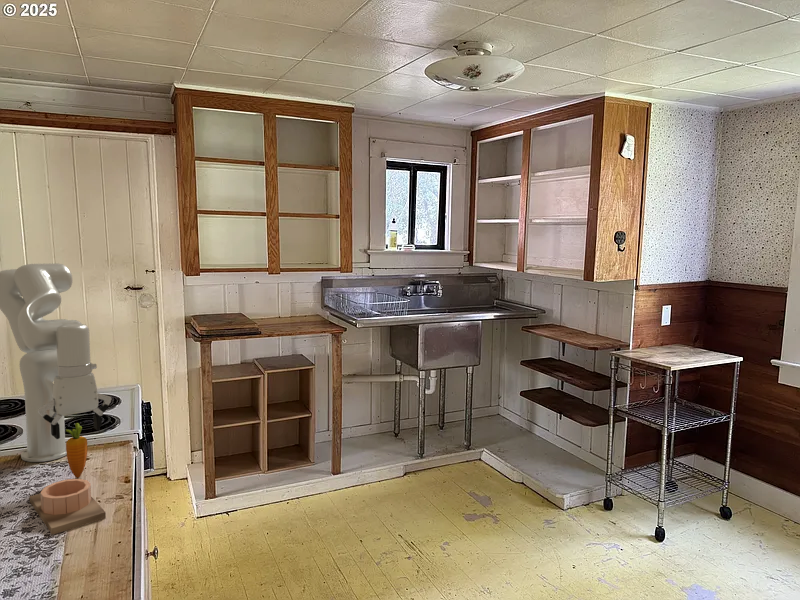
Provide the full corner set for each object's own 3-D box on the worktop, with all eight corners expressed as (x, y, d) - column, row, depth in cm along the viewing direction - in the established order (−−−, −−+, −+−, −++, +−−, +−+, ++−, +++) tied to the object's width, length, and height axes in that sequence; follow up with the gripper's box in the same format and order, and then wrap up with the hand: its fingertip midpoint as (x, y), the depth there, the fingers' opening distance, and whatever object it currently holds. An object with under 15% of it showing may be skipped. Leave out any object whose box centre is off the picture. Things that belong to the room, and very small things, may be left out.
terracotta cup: (37, 503, 133) (36, 487, 133) (83, 490, 140) (82, 475, 140) (48, 519, 126) (47, 502, 126) (96, 504, 133) (95, 489, 133)
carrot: (78, 483, 147) (76, 428, 145) (62, 480, 148) (60, 426, 146) (92, 475, 152) (91, 422, 150) (76, 473, 153) (75, 420, 151)
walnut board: (29, 502, 136) (29, 496, 136) (79, 488, 144) (79, 483, 144) (51, 534, 122) (51, 528, 122) (105, 518, 130) (105, 512, 130)
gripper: (105, 363, 155) (107, 423, 157) (32, 373, 143) (36, 437, 145) (114, 368, 150) (116, 429, 152) (40, 378, 138) (43, 445, 139)
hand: (77, 433), depth 148 cm, fingers open, 9 cm apart
